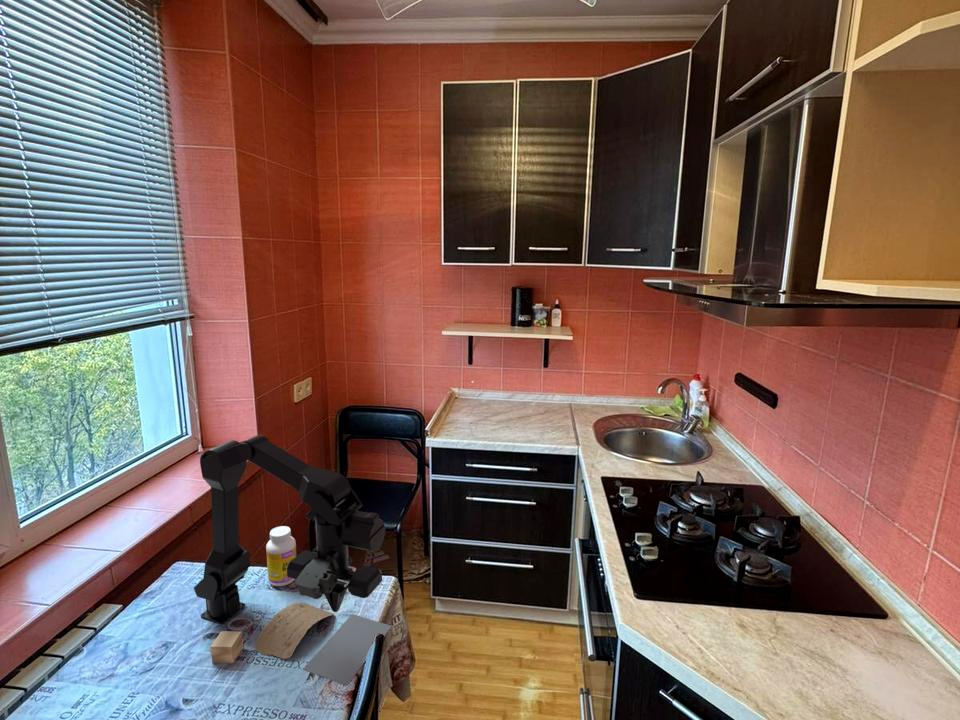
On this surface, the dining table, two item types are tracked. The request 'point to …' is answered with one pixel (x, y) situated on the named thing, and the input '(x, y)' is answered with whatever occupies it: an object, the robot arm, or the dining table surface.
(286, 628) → the clay tablet
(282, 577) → the supplement bottle
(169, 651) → the dining table surface
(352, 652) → the slate mat
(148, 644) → the dining table surface
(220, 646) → the oak block
